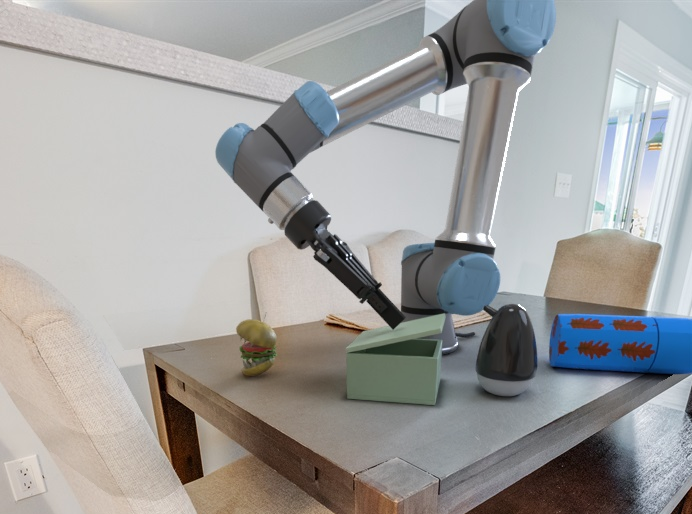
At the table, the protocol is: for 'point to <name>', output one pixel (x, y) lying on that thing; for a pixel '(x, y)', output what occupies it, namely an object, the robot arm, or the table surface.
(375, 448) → the table surface
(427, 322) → the lid
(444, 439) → the table surface
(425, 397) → the keepsake box
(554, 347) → the thermos
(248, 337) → the hamburger
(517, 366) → the pump dispenser
